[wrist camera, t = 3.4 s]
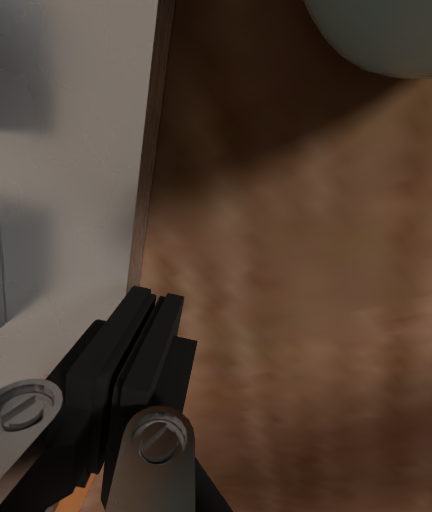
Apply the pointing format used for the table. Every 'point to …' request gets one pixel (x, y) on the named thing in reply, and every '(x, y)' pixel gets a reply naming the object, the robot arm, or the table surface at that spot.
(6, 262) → the panel
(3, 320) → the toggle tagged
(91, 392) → the robot arm
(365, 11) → the cup
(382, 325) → the table surface
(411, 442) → the table surface
